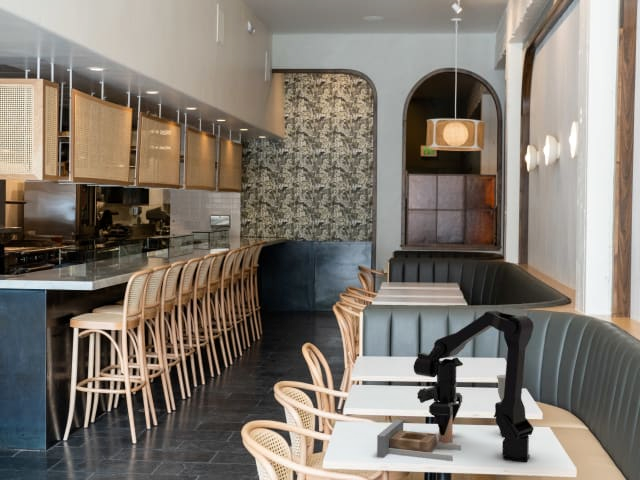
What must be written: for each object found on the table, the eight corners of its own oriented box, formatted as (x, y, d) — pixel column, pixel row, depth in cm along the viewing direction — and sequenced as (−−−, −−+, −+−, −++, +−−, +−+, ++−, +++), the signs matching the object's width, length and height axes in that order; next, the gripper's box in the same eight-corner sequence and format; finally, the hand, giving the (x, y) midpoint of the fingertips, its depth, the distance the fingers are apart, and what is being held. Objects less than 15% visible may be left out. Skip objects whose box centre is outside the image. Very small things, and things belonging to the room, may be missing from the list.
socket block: (436, 447, 234) (436, 434, 234) (428, 457, 225) (428, 442, 225) (399, 443, 238) (399, 430, 238) (390, 452, 229) (390, 438, 229)
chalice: (523, 436, 248) (524, 378, 247) (504, 438, 245) (505, 379, 245) (509, 430, 254) (510, 374, 254) (491, 432, 252) (491, 375, 251)
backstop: (463, 446, 237) (463, 425, 236) (449, 465, 218) (449, 443, 218) (396, 439, 244) (396, 419, 244) (377, 456, 225) (377, 435, 225)
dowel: (453, 440, 243) (453, 410, 242) (450, 443, 239) (450, 413, 239) (440, 439, 244) (440, 409, 244) (437, 442, 240) (437, 412, 240)
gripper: (427, 372, 253) (427, 421, 253) (412, 383, 235) (411, 436, 236) (462, 374, 249) (462, 425, 249) (450, 386, 231) (449, 440, 232)
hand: (445, 431), depth 241 cm, fingers open, 9 cm apart
